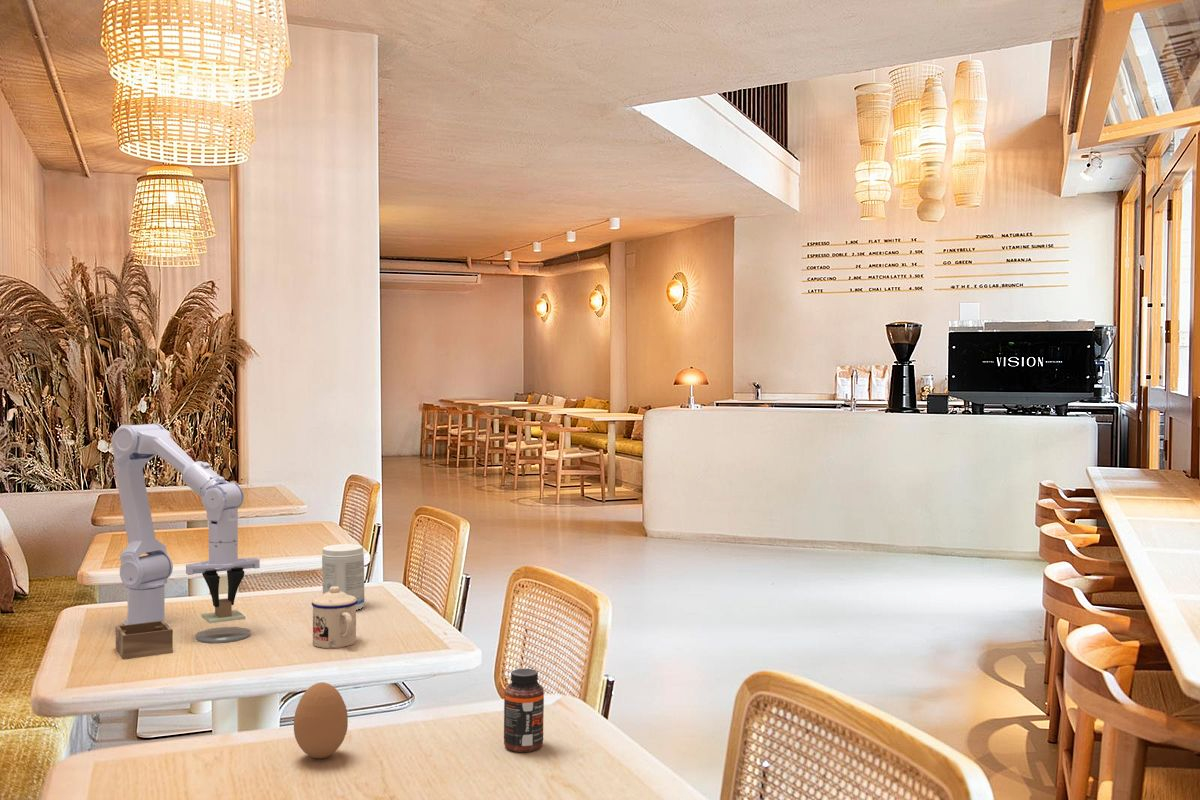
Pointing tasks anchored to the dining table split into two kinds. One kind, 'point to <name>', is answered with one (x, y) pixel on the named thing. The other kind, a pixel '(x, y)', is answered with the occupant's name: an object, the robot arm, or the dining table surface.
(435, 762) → the dining table surface
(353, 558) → the supplement tub
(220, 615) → the lid
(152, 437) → the robot arm
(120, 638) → the brown wooden open box
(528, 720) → the supplement bottle
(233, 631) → the coaster
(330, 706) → the egg
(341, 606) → the teacup with lid
